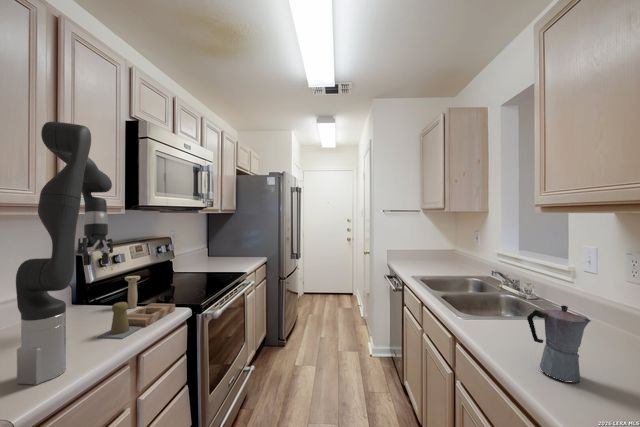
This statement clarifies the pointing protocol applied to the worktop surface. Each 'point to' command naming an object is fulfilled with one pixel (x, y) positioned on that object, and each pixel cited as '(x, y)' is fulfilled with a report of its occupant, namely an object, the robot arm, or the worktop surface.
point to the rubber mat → (119, 336)
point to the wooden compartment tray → (149, 314)
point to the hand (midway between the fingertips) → (96, 264)
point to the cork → (120, 318)
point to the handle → (132, 290)
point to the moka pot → (560, 342)
